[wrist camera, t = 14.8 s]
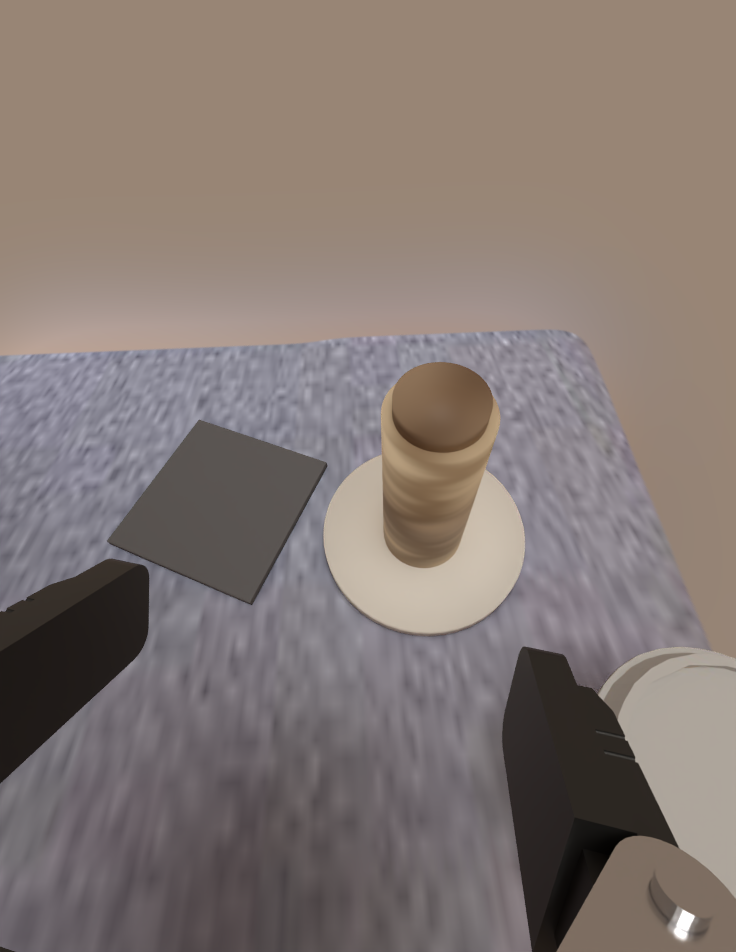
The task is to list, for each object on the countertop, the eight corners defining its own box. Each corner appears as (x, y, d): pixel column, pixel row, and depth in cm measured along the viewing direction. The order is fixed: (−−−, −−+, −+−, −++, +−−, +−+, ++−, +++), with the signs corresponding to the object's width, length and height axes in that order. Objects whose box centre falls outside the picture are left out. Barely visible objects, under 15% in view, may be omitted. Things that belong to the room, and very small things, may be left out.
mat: (110, 543, 34) (106, 541, 33) (201, 423, 39) (199, 419, 39) (251, 605, 31) (249, 602, 31) (327, 465, 37) (326, 462, 36)
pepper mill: (371, 551, 31) (361, 426, 20) (399, 487, 34) (406, 343, 22) (447, 580, 30) (485, 465, 18) (470, 512, 33) (518, 372, 21)
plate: (291, 588, 32) (288, 583, 30) (369, 435, 38) (368, 426, 37) (492, 671, 28) (496, 668, 27) (539, 488, 35) (543, 480, 34)
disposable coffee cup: (738, 840, 24) (1004, 902, 14) (580, 929, 22) (746, 1074, 12) (621, 658, 28) (753, 603, 18) (484, 721, 27) (544, 698, 17)
